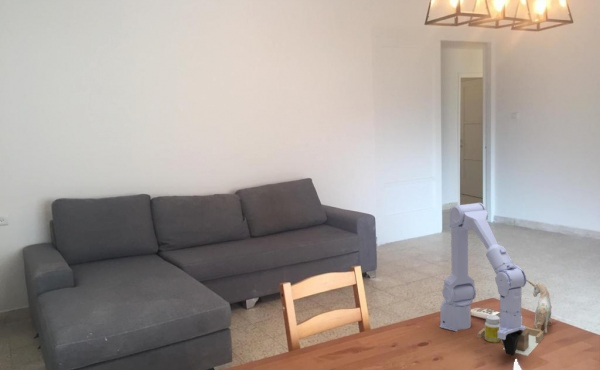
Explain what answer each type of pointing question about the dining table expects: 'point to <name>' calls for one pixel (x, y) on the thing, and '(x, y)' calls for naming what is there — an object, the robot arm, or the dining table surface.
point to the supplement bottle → (492, 328)
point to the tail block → (523, 341)
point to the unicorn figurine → (542, 307)
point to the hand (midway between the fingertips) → (510, 353)
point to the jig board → (534, 339)
